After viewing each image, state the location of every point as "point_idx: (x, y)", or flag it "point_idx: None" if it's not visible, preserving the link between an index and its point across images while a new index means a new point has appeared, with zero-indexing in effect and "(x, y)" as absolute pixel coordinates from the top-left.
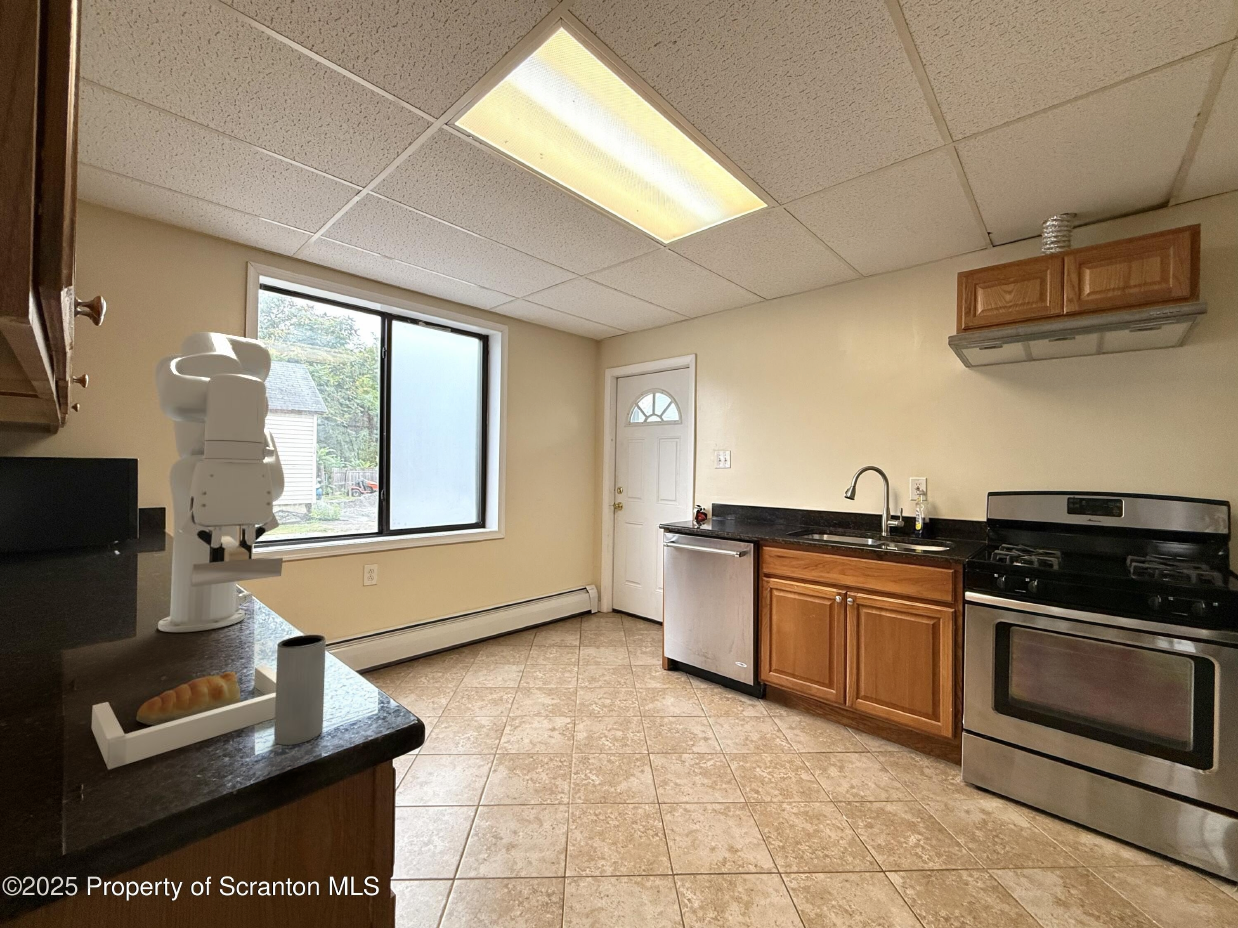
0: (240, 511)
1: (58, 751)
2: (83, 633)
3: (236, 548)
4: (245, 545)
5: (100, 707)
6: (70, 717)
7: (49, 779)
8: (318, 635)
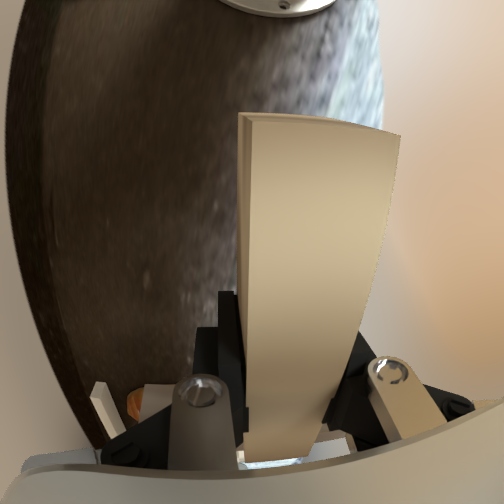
0: None
1: (86, 402)
2: None
3: (296, 425)
4: (336, 425)
5: (97, 405)
6: (72, 341)
7: (96, 431)
8: None
